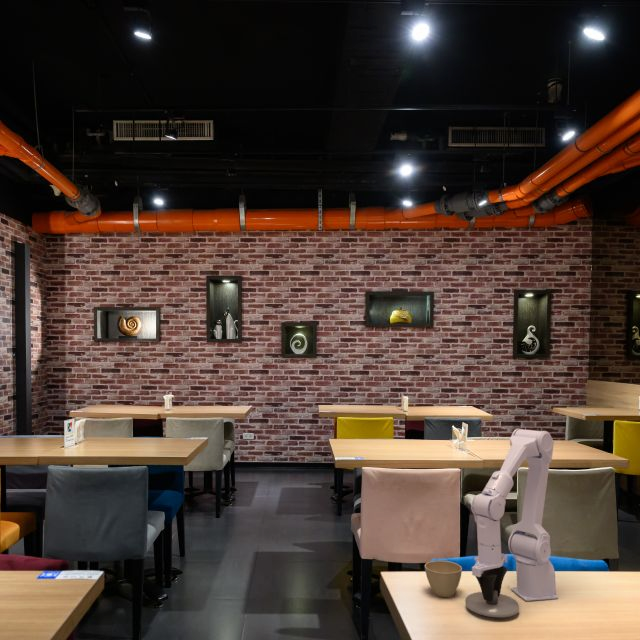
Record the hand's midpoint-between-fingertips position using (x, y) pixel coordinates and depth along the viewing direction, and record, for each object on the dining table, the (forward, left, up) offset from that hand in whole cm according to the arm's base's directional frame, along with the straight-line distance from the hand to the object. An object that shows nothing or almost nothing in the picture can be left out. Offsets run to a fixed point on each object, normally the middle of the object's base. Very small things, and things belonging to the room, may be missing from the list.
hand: (491, 598), depth 135 cm
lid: (0, 0, -2) cm, 2 cm away
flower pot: (+8, -12, -3) cm, 15 cm away
